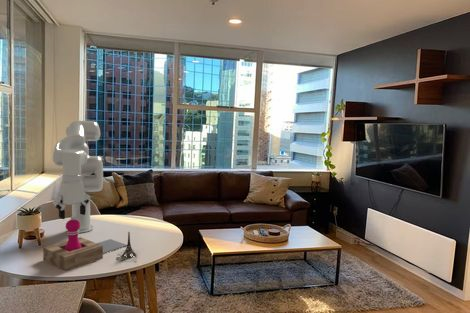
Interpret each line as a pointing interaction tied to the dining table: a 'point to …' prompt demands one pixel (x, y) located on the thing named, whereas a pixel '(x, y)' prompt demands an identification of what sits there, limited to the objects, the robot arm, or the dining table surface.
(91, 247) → the walnut pocket holder
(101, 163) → the robot arm
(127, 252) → the eiffel tower figurine
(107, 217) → the dining table surface
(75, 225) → the pepper mill
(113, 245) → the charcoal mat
